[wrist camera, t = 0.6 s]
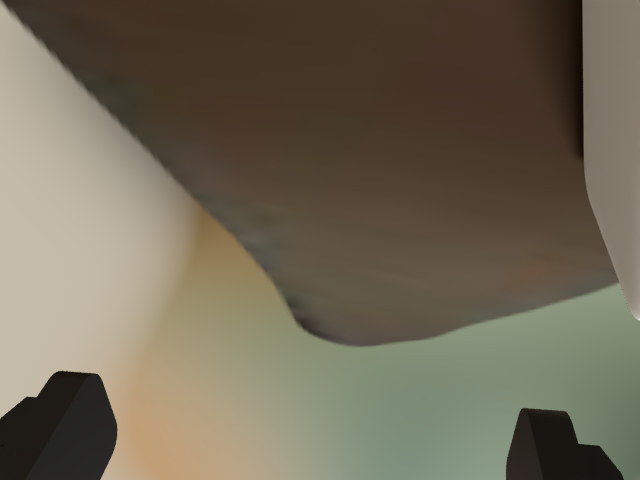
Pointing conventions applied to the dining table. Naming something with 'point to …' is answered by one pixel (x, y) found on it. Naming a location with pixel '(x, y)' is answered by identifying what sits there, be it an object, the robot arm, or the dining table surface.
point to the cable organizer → (614, 132)
